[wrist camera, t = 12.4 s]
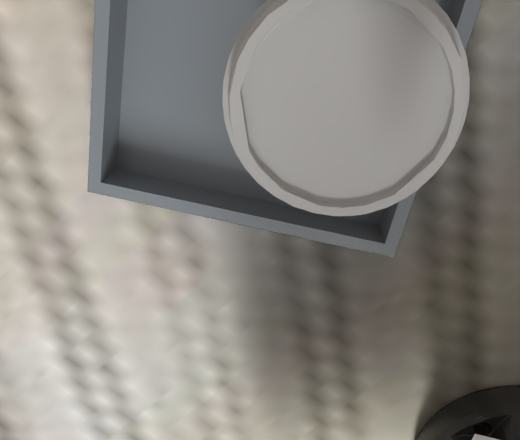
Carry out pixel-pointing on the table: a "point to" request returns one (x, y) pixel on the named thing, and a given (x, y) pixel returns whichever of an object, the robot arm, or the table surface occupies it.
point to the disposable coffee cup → (345, 100)
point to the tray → (201, 121)
